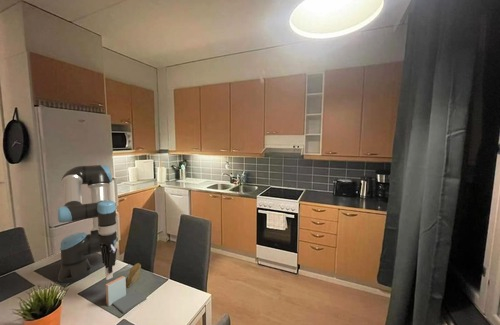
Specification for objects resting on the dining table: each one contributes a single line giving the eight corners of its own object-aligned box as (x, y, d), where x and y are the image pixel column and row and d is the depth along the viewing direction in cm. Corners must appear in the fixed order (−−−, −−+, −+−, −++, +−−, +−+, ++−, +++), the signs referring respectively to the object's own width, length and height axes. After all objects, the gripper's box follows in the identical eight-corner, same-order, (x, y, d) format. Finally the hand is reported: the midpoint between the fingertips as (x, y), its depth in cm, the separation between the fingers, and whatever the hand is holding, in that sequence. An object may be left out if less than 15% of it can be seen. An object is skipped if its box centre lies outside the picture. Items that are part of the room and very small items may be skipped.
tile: (106, 304, 104) (105, 284, 103) (123, 294, 110) (123, 275, 109) (108, 306, 102) (108, 286, 101) (126, 296, 109) (125, 277, 108)
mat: (112, 304, 103) (112, 302, 103) (135, 291, 113) (135, 290, 112) (123, 313, 98) (123, 311, 98) (146, 299, 107) (146, 297, 107)
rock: (128, 287, 112) (146, 275, 120) (121, 272, 114) (139, 261, 122) (122, 291, 119) (140, 280, 127) (116, 277, 120) (134, 266, 128)
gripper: (93, 232, 108) (95, 277, 109) (105, 238, 100) (107, 286, 102) (109, 227, 114) (111, 270, 116) (122, 233, 107) (123, 278, 109)
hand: (109, 278), depth 109 cm, fingers closed
